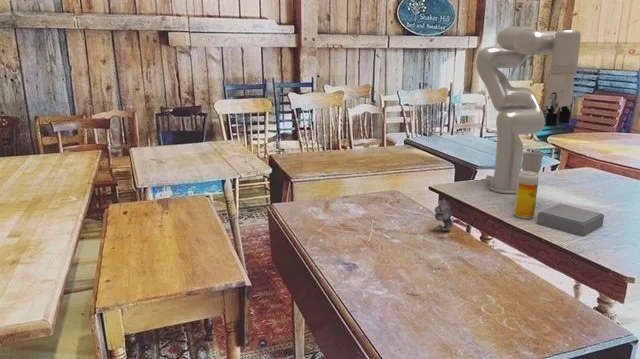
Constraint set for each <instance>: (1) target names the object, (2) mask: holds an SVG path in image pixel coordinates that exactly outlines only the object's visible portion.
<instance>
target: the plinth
mask: <svg viewBox="0 0 640 359" xmlns="http://www.w3.org/2000/svg"><path fill="white" fill-rule="evenodd" d="M604 219H605V214H603V213H601V212H597V211H594V210H588V209H584V208H581V207H577V206H572V205H568V204H564V203H558V204H556V205H553V206H551V207H549V208H545V209H543V210H541V211H538V212H537V219H536V224H537V225H541V226H545V227H547V228H548V227H549V228H551V229H554V230H555V229H556V230H559V231H562V232H566V233H569V234H574V235H576V236H581V237H584V236H585V235H587V234H590V233H591V232H593V231H595V230H598V229H599V228H601V227H602V226H603V224H604Z"/></svg>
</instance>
